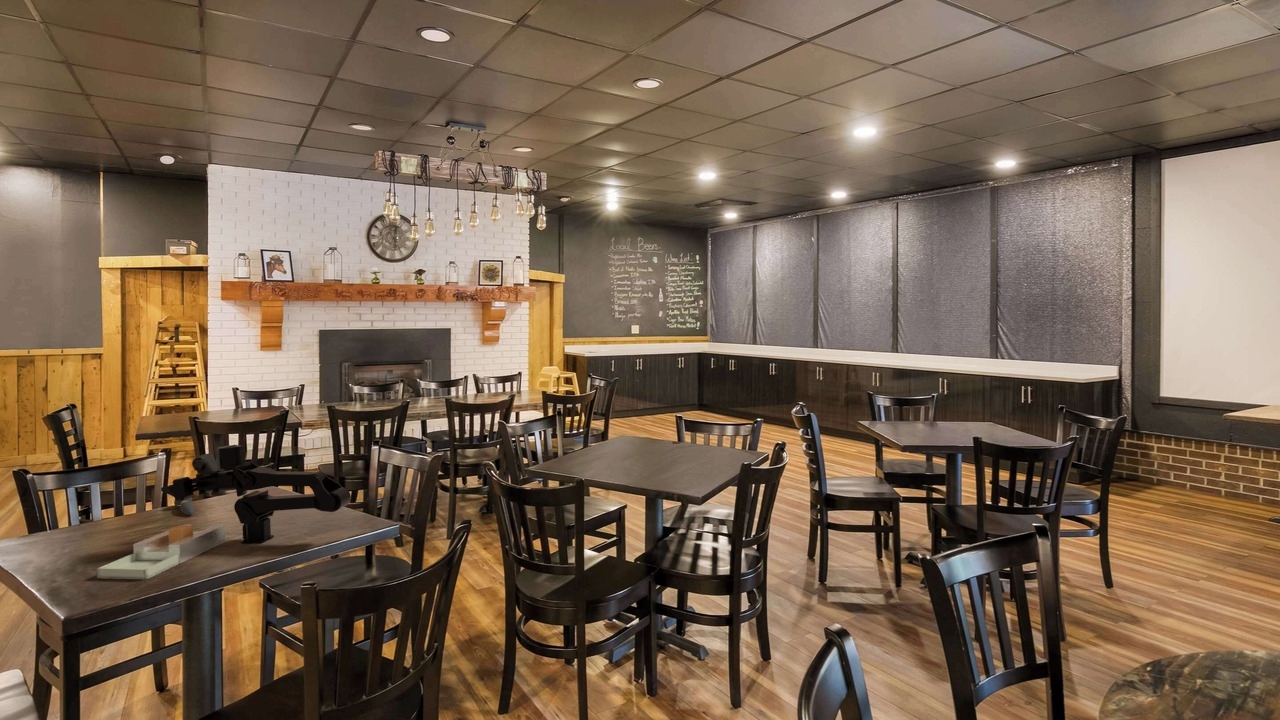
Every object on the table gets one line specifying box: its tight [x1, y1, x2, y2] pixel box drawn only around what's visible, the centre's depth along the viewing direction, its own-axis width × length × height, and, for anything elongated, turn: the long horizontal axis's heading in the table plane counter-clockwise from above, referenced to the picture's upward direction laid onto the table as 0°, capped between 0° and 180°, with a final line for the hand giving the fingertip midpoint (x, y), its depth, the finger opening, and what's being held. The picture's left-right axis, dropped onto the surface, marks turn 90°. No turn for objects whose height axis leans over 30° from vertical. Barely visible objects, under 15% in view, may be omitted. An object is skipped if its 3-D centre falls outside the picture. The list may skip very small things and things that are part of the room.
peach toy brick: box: [168, 524, 194, 543], centre depth 190 cm, size 4×4×4 cm
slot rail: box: [133, 524, 227, 564], centre depth 191 cm, size 13×18×5 cm
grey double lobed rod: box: [173, 497, 195, 516], centre depth 233 cm, size 20×5×5 cm, turn 47°
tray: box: [96, 553, 180, 580], centre depth 176 cm, size 13×11×2 cm
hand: (173, 485), depth 201 cm, fingers open, 9 cm apart
